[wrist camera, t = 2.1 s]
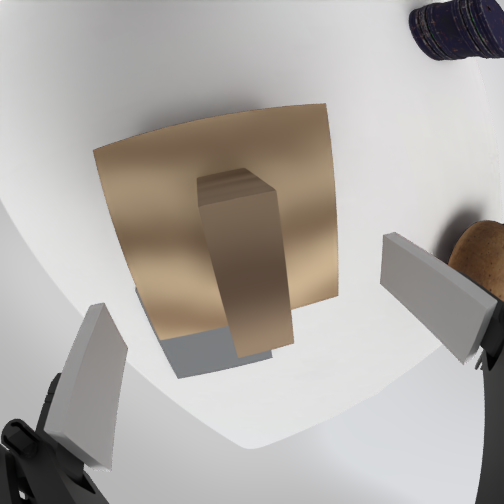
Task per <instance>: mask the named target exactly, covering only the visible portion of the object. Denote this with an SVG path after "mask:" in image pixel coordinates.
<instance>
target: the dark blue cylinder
mask: <svg viewBox="0 0 504 504" xmlns="http://www.w3.org/2000/svg"><path fill="white" fill-rule="evenodd" d="M409 26H410V30H411V33H412V35H413V38H414V39H415V41H416V43H417V44H418V46H419V47H420V48H421V50H422V51H423V52H424V53H425V54H426V55H427V56H429V57H430V58H432V59H434V60H438V61H440V60H457V59H465V58H467V57H475V56H479V57H482V58H486V59H487V58H504V11H503V10H502V8H501V7H500V6H499V4H498V3H497V2H496V1H495V0H452V1H448V2H444V3H432V4H429V5H426V6H423V7H422V8H419V9H415V10H413V11H412V12H411V13H410V15H409Z"/></svg>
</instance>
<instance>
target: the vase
mask: <svg viewBox="0 0 504 504" xmlns="http://www.w3.org/2000/svg"><path fill="white" fill-rule="evenodd" d="M448 266H450V267H451V268H453V269H455V270H457V271H460V272H463V273H465V274H466V275H468V276H469V277H470V278H472V280H475V281H476V282H477V283H479V285H482V286H483V287H484V288H486V289H487V290H488V291H490V292H491V293H493V294H494V295H495V296H496V297H498V298H499V299H500V300H502V301H503V302H504V224H500V223H498V222H495V221H490V220H485V221H479V222H476V223H474V224H473V225H471V226H470V227H469V228H468V229H467V230H466V231H465V232H464V233H463V234H462V236H461V237H460V239H459V240H458V241H457V243H456V245H455V247H454V249H453V251H452V254H451V256H450V259H449V262H448Z"/></svg>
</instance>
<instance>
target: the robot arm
mask: <svg viewBox="0 0 504 504" xmlns="http://www.w3.org/2000/svg"><path fill="white" fill-rule="evenodd" d="M380 284H381V285H382V286H383V287H384V288H385V289H387V290H388V291H389V292H390V293H391V294H392V295H393V296H394V297H395V298H396V299H397V300H398V301H400V302H401V303H402V304H403V305H404V306H405V307H406V308H407V309H408V310H409V311H410V312H411V313H412V314H413V315H414V316H415V317H416V318H417V319H418V320H419V321H420V322H422V323H423V324H424V325H425V326H426V327H427V328H428V329H429V330H430V331H431V332H432V333H433V334H434V335H435V336H436V337H437V338H438V339H439V340H440V341H441V342H442V343H443V344H444V345H445V346H446V347H447V349H449V351H450V352H451V353H452V354H453V355H454V356H455V357H456V358H457V359H458V360H459V361H460V362H461V363H462V364H463V365H464V364H465V363H467V362H468V361H469V360H471V359H472V358H473V357H475V355H476V352H477V350H478V348H479V346H481V347H482V348H483V349H484V350H483V352H482V354H481V356H480V358H479V360H478V362H477V364H476V366H475V369H476V370H477V369H478V367H479V365H480V363H481V362H482V366H481V368H480V369H481V370H483V377H484V393H485V394H484V396H485V429H484V447H483V458H482V467H481V474H480V481H479V487H478V492H477V497H476V502H475V504H504V302H503V301H502V300H500V299H499V298H498V297H496V296H495V295H494V294H493V293H491V292H490V291H488V290H487V289H486V288H484V287H483V286H482V285H479V283H477V282H476V281H475V280H472V278H470V277H469V276H468V275H466V274H465V273H463V272H460V271H457V270H455V269H453V268H451V267H450V266H448V265H447V264H445V263H444V262H442V261H441V260H439V259H438V258H436V257H434V256H433V255H431V254H430V253H428V252H427V251H425V250H424V249H422V248H420V247H419V246H417V245H416V244H414V243H412V242H411V241H409V240H407V239H406V238H404V237H402V236H401V235H399V234H397V233H396V232H393V233H390V234H386V235H383V249H382V266H381V279H380ZM127 351H128V347H127V345H126V344H125V342H124V340H123V338H122V336H121V335H120V333H119V331H118V329H117V327H116V325H115V323H114V321H113V319H112V317H111V315H110V313H109V311H108V309H107V307H106V305H105V303H100V304H95V305H91V306H90V307H89V309H88V311H87V314H86V316H85V318H84V320H83V323H82V325H81V327H80V329H79V331H78V334H77V336H76V338H75V341H74V343H73V346H72V348H71V350H70V353H69V355H68V358H67V361H66V363H65V366H64V369H63V371H62V373H58V374H57V375H56V377H55V378H54V379H53V381H52V382H51V384H50V387H49V390H48V395H46V398H45V403H44V404H43V407H42V410H41V414H40V417H39V420H38V424H37V427H36V431H35V432H34V430H32V429H31V428H30V427H29V426H28V425H27V424H26V423H25V422H24V421H22V420H21V419H13V420H11V421H9V422H8V423H7V424H6V426H5V427H4V429H3V431H2V435H1V443H2V444H3V445H5V446H6V447H7V448H8V449H9V450H7V449H6V448H5V447H3V446H2V445H1V444H0V504H109V503H108V501H107V500H106V499H105V497H104V496H103V495H102V493H101V492H100V491H99V490H98V488H97V487H96V485H95V484H94V483H93V481H92V479H91V478H90V476H89V475H88V474H87V473H86V472H85V471H84V470H83V469H84V463H85V464H86V465H87V466H89V467H90V468H92V469H93V470H101V471H111V467H112V454H113V443H114V433H115V424H116V415H117V409H118V402H119V395H120V389H121V383H122V377H123V372H124V366H125V361H126V356H127ZM19 491H21V492H23V493H24V494H25V499H23V498H21V497H20V494H19Z"/></svg>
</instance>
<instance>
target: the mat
mask: <svg viewBox="0 0 504 504" xmlns="http://www.w3.org/2000/svg"><path fill="white" fill-rule="evenodd" d="M135 291H136V293H137V295H138V298H139V300H140V302H141V305H142V307H143V309H144V311H145V314H146V316H147V318H148V320H149V322H150V325H151V327H152V329H153V331H154V333H155V335H156V337H157V339H158V341H159V343H160V345H161V347H162V349H163V351H164V353H165V355H166V357H167V359H168V361H169V363H170V365H171V367H172V369H173V370H174V372H175V374H176V376H177V378H178V379H179V378H185V377H190V376H196V375H201V374H206V373H211V372H216V371H220V370H225V369H229V368H234V367H238V366H242V365H246V364H250V363H254V362H258V361H262V360H266V359H270V358H272V352H271V350H268V351H265V352H261V353H257V354H253V355H249V356H245V357H241V358H238V356H237V353H236V349H235V346H234V343H233V339H232V336H231V332H230V329H229V326H226V327H221V328H217V329H213V330H208V331H204V332H199V333H194V334H190V335H185V336H180V337H175V338H170V339H165V340H160V339H159V337H158V335H157V333H156V331H155V329H154V327H153V325H152V322H151V320H150V318H149V316H148V314H147V311H146V309H145V307H144V304H143V302H142V300H141V297H140V295H139V293H138V290H137V288H136V289H135Z"/></svg>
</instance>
